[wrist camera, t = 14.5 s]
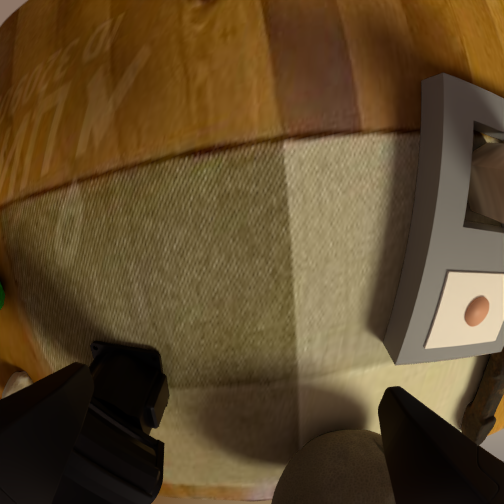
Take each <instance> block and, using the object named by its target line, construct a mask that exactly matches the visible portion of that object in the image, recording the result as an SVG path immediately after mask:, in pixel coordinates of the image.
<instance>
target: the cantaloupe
mask: <svg viewBox="0 0 504 504" xmlns="http://www.w3.org/2000/svg"><path fill="white" fill-rule="evenodd" d="M271 504H396V503H395V499H394V494H393V490H392V485H391V481H390V477H389V473H388V468H387V464H386V460H385V456H384V451H383V444H382V436H381V435H380V434H378V433H375V432H372V431H368V430H340V431H335V432H330V433H326V434H323V435H321V436H319V437H317V438H315V439H313V440H312V441H310V442H309V443H307V444H306V445H305V446H304V447H303V448H302V449H301V450H300V451H299V452H298V453H297V454H295V456H294V457H293V458H292V459H291V460H290V462H289V463H288V465H287V466H286V468H285V469H284V471H283V473H282V475H281V477H280V479H279V481H278V483H277V486H276V489H275V491H274V495H273V499H272V503H271Z"/></svg>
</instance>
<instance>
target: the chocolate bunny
mask: <svg viewBox="0 0 504 504" xmlns="http://www.w3.org/2000/svg"><path fill="white" fill-rule="evenodd" d="M31 384H33V382H32V380H31V378H30V377H29V376H28V374H27V373H26V372H24V371H23V372H15V373H13V374H12V376H11V377H10V378H9V380H8V382H7V384H6V386H5V388H4V391H3V394H2V398H4V397H7V396H9V395H11V394H13V393H15V392H17V391H19V390H21V389H23V388H25V387H27V386H29V385H31Z"/></svg>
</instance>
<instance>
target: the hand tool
mask: <svg viewBox="0 0 504 504" xmlns="http://www.w3.org/2000/svg"><path fill="white" fill-rule="evenodd" d="M503 394H504V347H503V349H502V351H501V352H497V353H491V356H490V359H489V362H488V365H487V367H486V369H485V371H484V376H483V379H482V380H481V383H480V387H479V389H478V392H477V394H476V397H475V399H474V401H473V402H472V403H470V404H469V405H468V406H467V408H466V411H465V413H464V417H463V422H462V430H461V431H462V433H463V434H464V435H465V436H467V437H468V438H470V439H471V440H472V441H474V442H475V443H476V444H477V445H480V444H481V443H482V442H483V441H484V440H485V438H486V437H487V435H488V434H489V432H490V431H491V429H492V428H493V427H494V424H495V422H496V418H495V417H494V414H495V412H496V409H497V407H498V405H499V403H500V401H501V398H502V396H503Z"/></svg>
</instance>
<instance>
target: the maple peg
mask: <svg viewBox="0 0 504 504" xmlns="http://www.w3.org/2000/svg"><path fill="white" fill-rule="evenodd" d="M467 199H468V202H469V206H470V209H471V211H473V212H476V213H478V214H481V215H484V216H486V217H489V218H491V219H494V220H496V221H498V222H501V223H503V224H504V144H503V143H486V144H484V145H482V146H481V147H479V148H478V149H476V150H474V151H473V152H472V162H471V173H470V183H469V191H468V198H467Z"/></svg>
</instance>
